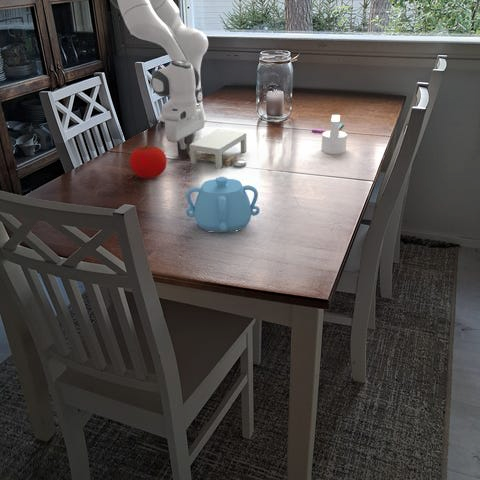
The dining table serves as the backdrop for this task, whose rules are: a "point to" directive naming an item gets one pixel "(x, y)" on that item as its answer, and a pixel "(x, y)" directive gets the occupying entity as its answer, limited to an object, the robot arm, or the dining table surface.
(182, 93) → the robot arm
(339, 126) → the squeegee
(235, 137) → the low bench
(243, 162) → the steel puck
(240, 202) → the decorative pot
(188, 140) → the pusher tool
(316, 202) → the dining table surface
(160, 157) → the tomato
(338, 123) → the cylinder with rectangular tab
